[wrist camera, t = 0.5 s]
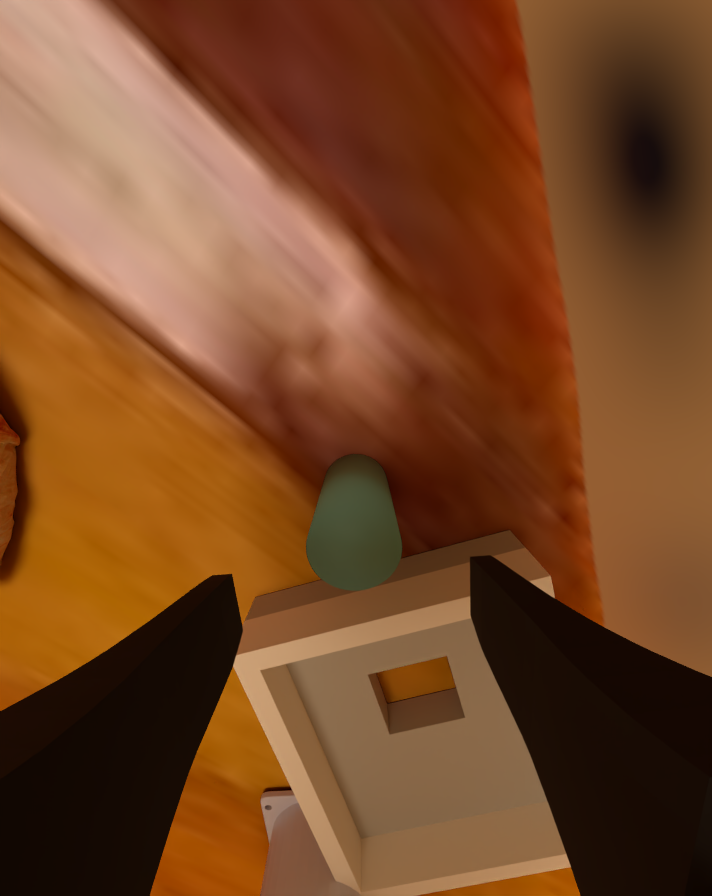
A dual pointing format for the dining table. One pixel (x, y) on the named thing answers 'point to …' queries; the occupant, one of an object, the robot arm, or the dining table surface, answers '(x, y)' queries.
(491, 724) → the bore tray
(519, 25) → the dining table surface
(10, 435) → the croissant
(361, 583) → the peg
